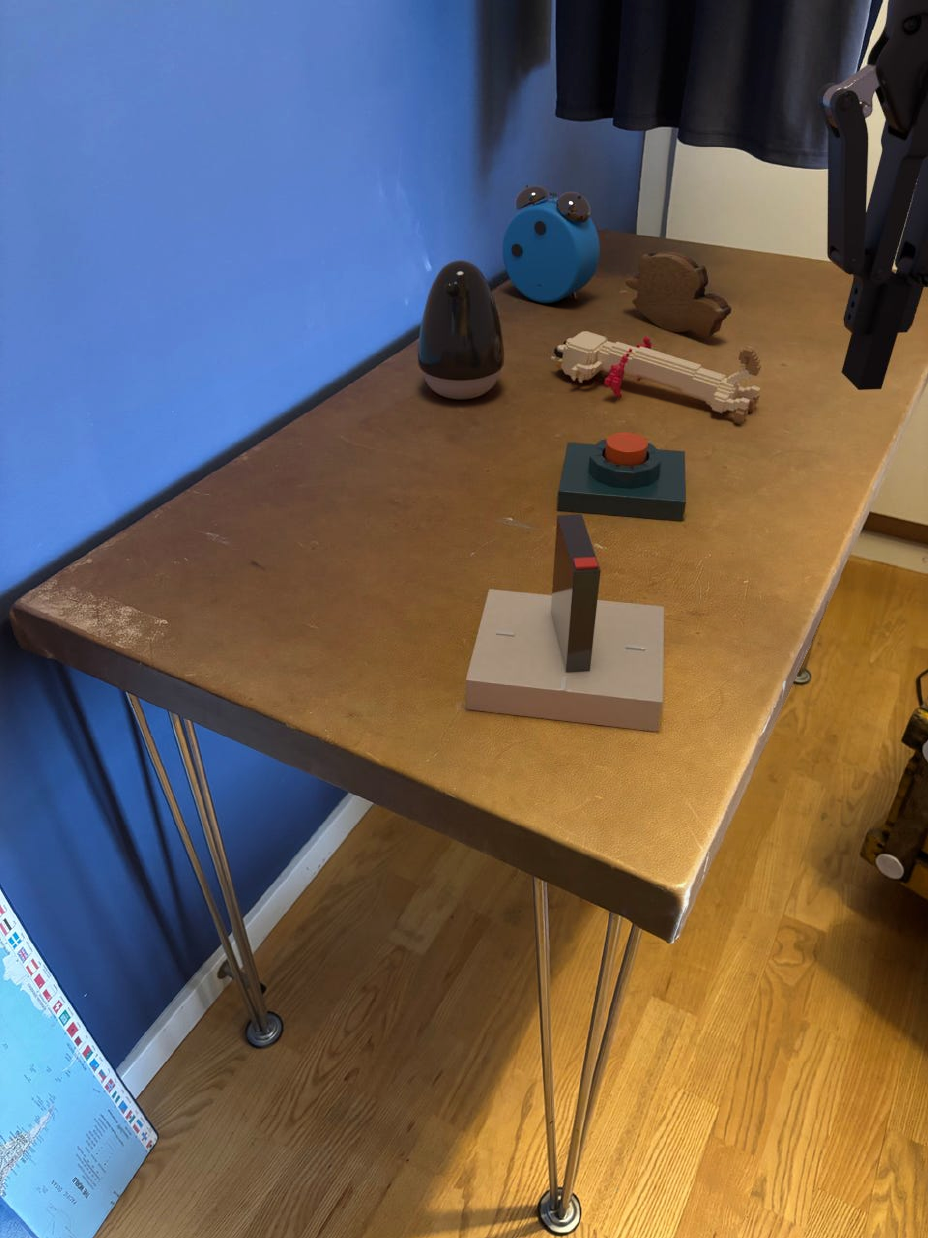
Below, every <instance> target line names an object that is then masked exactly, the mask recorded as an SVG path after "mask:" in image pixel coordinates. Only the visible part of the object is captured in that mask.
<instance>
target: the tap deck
mask: <svg viewBox="0 0 928 1238" xmlns="http://www.w3.org/2000/svg"><path fill="white" fill-rule="evenodd" d="M551 602H552V594H545V593H544V594H541V593H535V592H534V593H533V592H523V591H513V590H502V589H495V588H494V589H493V588H489V589H488V592H487V596H486V599H485V604H484V608H483V611H482V614H481V618H480V623H479V626H478V631H477V634H476V639H475V641H474V642H475V643H474V646H473V650H472V653H471V656H470V657H471V658H470V662H469V665H468V669H467V673H466V677H465V709H466V710H471V711H479V712H486V713H487V712H488V713H494V714H503V715H512V716H520V717H528V718H538V719H544V720H545V719H546V720H554V721H561V722H570V723H579V724H588V725H594V726H595V725H596V726H604V727H614V728H620V729H629V730H637V731H646V732H653V733H658V732H659V729H660V722H661V716H662V711H663V707H664V706H663V705H664V675H665V674H664V671H665V670H664V667H665V666H664V664H665V654H664V653H665V606H662V605H655V604H654V605H653V604H643V603H635V602H634V603H633V602H623V601H615V600H614V601H612V600H604V599H598V601H597V610H596V620H595V629H594V638H593V648H592V657H591V667H590V671H577V672H566V671H565V667H564V663H563V659H562V655H561V651H560V647H559V643H558V639H557V635H556V631H555V627H554V623H553V619H552V615H551Z"/></svg>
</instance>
